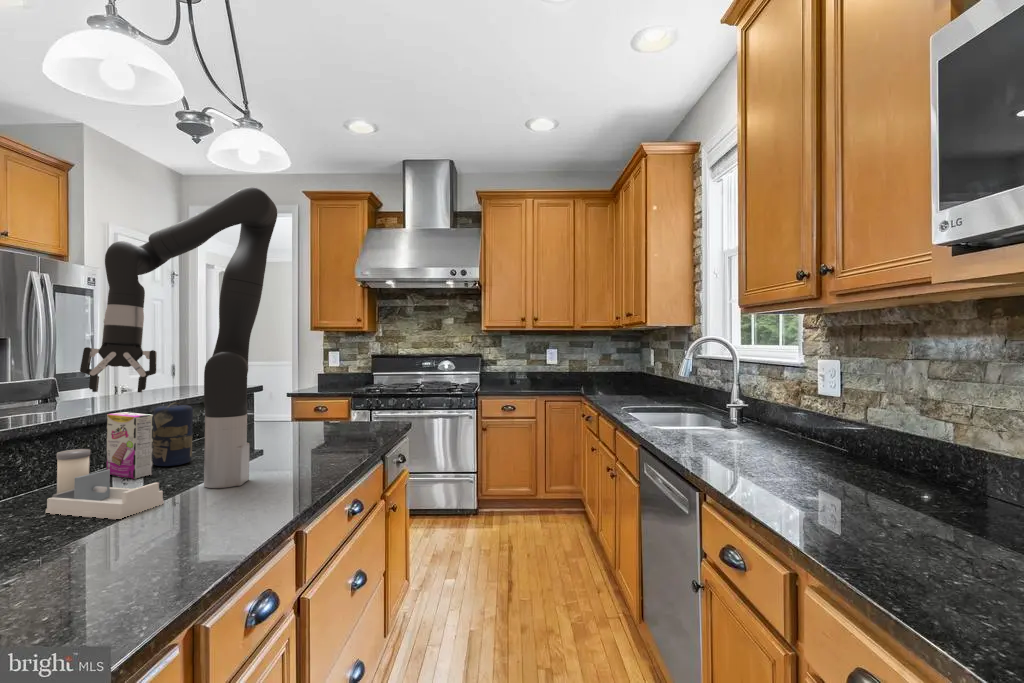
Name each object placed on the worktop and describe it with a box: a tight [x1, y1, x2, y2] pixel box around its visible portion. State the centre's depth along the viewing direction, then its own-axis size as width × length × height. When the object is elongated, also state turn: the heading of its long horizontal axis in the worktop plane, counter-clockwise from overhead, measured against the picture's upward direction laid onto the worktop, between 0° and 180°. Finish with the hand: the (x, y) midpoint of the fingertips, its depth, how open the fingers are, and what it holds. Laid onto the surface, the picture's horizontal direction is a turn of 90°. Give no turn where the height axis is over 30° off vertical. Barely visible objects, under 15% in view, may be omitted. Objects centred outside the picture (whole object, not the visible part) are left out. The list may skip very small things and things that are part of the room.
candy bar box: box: [105, 411, 154, 480], centre depth 131 cm, size 11×5×16 cm, turn 71°
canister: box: [152, 402, 194, 467], centre depth 144 cm, size 10×10×18 cm
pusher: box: [74, 469, 111, 501], centre depth 105 cm, size 3×7×6 cm, turn 170°
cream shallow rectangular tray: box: [45, 482, 165, 520], centre depth 105 cm, size 18×10×5 cm, turn 80°
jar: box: [56, 448, 91, 494], centre depth 113 cm, size 6×6×10 cm
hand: (117, 392), depth 119 cm, fingers open, 8 cm apart
